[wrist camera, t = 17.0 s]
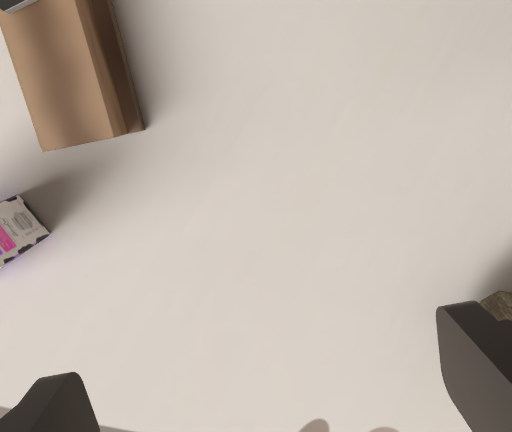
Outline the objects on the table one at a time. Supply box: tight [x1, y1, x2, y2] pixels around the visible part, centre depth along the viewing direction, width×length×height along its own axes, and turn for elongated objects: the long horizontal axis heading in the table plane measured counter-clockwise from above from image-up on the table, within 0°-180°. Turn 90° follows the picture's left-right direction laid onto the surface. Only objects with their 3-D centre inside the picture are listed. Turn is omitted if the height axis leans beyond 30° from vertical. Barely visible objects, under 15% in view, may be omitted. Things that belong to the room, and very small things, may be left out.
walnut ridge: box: [0, 0, 145, 152], centre depth 40 cm, size 10×22×6 cm, turn 11°
